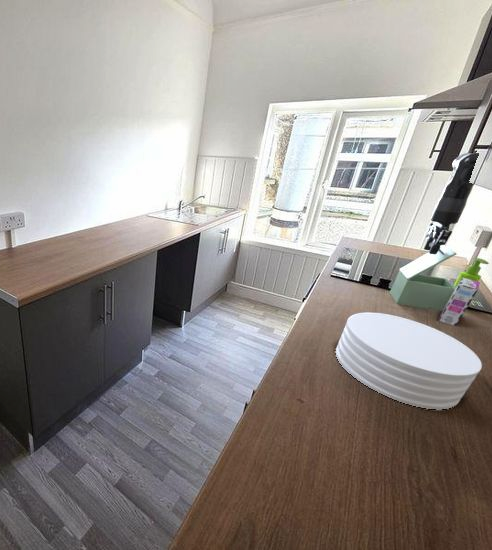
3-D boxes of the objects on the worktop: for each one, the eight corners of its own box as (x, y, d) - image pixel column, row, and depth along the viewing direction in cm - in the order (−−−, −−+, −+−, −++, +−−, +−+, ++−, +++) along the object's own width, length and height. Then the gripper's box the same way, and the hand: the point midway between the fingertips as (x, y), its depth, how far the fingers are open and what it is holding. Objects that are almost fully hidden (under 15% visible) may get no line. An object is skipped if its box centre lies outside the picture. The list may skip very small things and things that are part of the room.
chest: (434, 301, 128) (446, 278, 123) (445, 313, 118) (458, 289, 114) (389, 292, 134) (399, 270, 130) (396, 303, 125) (407, 280, 120)
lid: (444, 245, 120) (434, 236, 121) (457, 254, 111) (446, 244, 111) (400, 270, 130) (391, 262, 130) (408, 280, 120) (398, 271, 121)
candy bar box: (455, 329, 108) (478, 289, 101) (436, 323, 111) (458, 284, 105) (458, 319, 115) (480, 281, 108) (440, 313, 118) (461, 276, 111)
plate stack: (321, 365, 88) (333, 333, 83) (350, 331, 105) (362, 303, 100) (452, 430, 69) (478, 394, 64) (463, 376, 85) (484, 344, 81)
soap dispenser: (452, 304, 125) (477, 261, 117) (442, 297, 131) (465, 255, 123) (470, 307, 124) (496, 263, 115) (459, 299, 130) (483, 257, 121)
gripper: (471, 214, 104) (449, 259, 111) (453, 207, 116) (435, 248, 123) (443, 211, 107) (423, 255, 114) (428, 205, 119) (411, 245, 126)
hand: (429, 251), depth 118 cm, fingers closed on lid, 5 cm apart
